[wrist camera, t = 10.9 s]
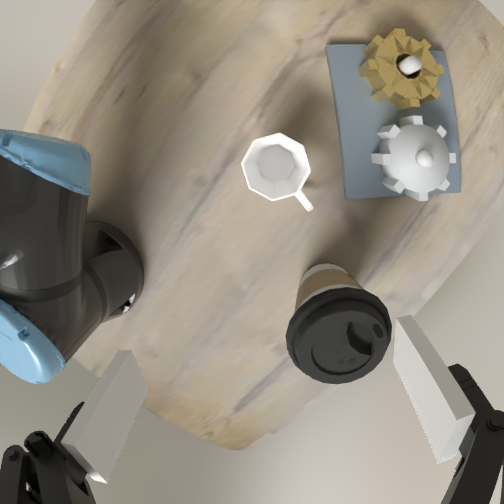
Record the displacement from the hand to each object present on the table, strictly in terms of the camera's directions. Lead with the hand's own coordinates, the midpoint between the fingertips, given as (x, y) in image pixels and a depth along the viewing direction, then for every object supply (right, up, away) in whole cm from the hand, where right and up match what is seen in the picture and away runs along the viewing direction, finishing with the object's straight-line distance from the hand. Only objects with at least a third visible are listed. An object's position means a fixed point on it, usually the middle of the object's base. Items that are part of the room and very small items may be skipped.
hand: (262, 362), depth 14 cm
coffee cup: (+10, 0, +29) cm, 30 cm away
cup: (+4, +15, +24) cm, 29 cm away
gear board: (+18, +22, +20) cm, 36 cm away
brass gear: (+17, +28, +17) cm, 37 cm away
